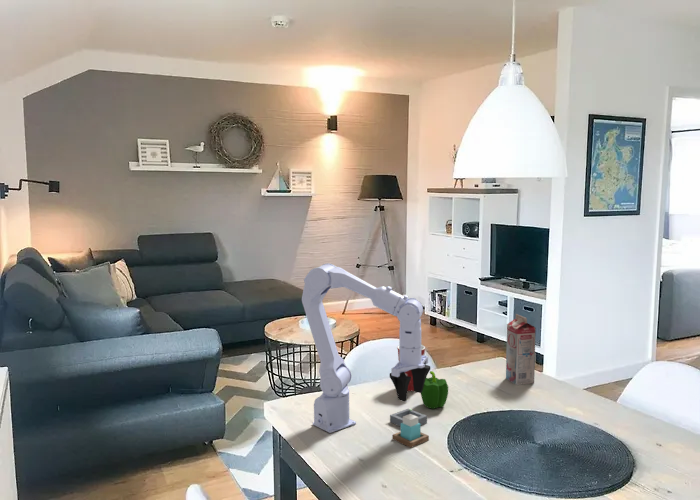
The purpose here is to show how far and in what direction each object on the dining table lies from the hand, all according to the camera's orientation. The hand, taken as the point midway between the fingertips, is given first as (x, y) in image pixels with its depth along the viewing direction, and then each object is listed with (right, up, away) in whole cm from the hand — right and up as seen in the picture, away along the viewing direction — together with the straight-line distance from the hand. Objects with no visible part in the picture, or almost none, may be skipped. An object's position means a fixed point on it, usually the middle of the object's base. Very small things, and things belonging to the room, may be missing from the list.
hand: (410, 396), depth 156 cm
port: (0, -9, +8) cm, 12 cm away
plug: (0, -11, -3) cm, 11 cm away
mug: (+4, -6, +33) cm, 34 cm away
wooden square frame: (0, -10, -3) cm, 11 cm away
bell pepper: (+9, -8, +20) cm, 23 cm away
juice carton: (+41, -5, +41) cm, 58 cm away
